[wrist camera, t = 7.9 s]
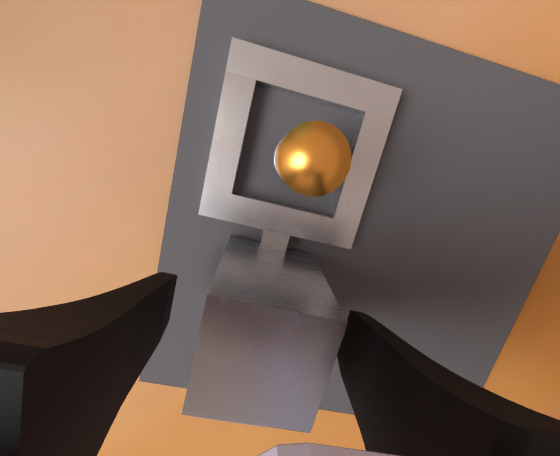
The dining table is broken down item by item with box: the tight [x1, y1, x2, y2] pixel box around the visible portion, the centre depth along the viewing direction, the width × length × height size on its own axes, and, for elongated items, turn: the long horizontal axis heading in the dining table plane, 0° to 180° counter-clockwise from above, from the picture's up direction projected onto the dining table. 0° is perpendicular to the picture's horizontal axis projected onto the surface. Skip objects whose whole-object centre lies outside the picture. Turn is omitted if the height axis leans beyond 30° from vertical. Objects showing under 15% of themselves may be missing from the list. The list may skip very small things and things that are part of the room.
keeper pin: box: [272, 121, 351, 197], centre depth 10 cm, size 2×2×5 cm
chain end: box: [182, 37, 402, 433], centre depth 11 cm, size 18×7×6 cm, turn 166°
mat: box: [139, 0, 560, 415], centre depth 14 cm, size 19×19×1 cm
